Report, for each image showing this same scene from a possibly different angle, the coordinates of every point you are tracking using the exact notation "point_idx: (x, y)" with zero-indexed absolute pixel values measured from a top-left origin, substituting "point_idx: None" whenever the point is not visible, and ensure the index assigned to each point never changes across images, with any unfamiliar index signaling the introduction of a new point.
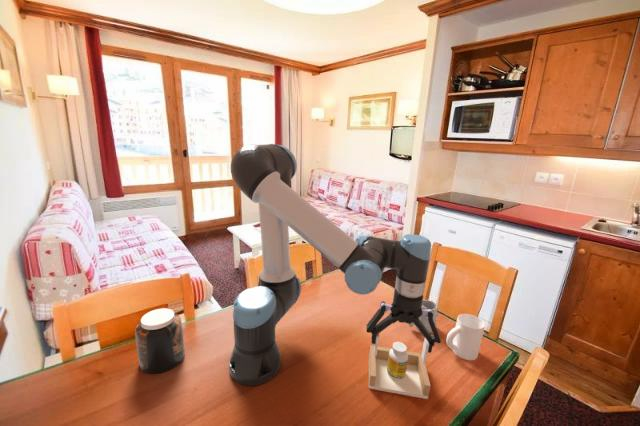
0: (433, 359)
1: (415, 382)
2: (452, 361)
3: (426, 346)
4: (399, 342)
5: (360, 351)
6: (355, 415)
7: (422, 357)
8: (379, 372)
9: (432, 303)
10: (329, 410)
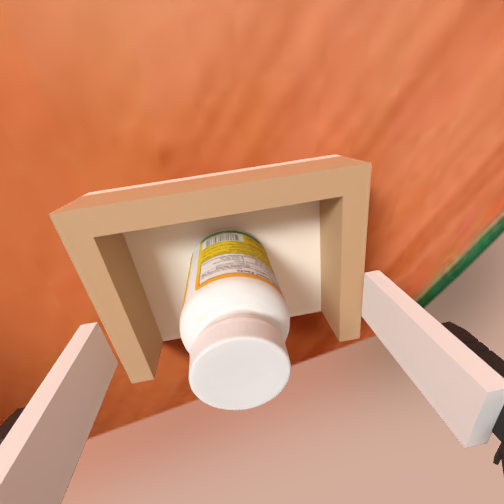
0: (408, 81)
1: (303, 272)
2: (500, 59)
3: (450, 425)
4: (236, 345)
5: (29, 169)
6: (140, 410)
7: (371, 306)
8: (164, 281)
9: None
10: None
